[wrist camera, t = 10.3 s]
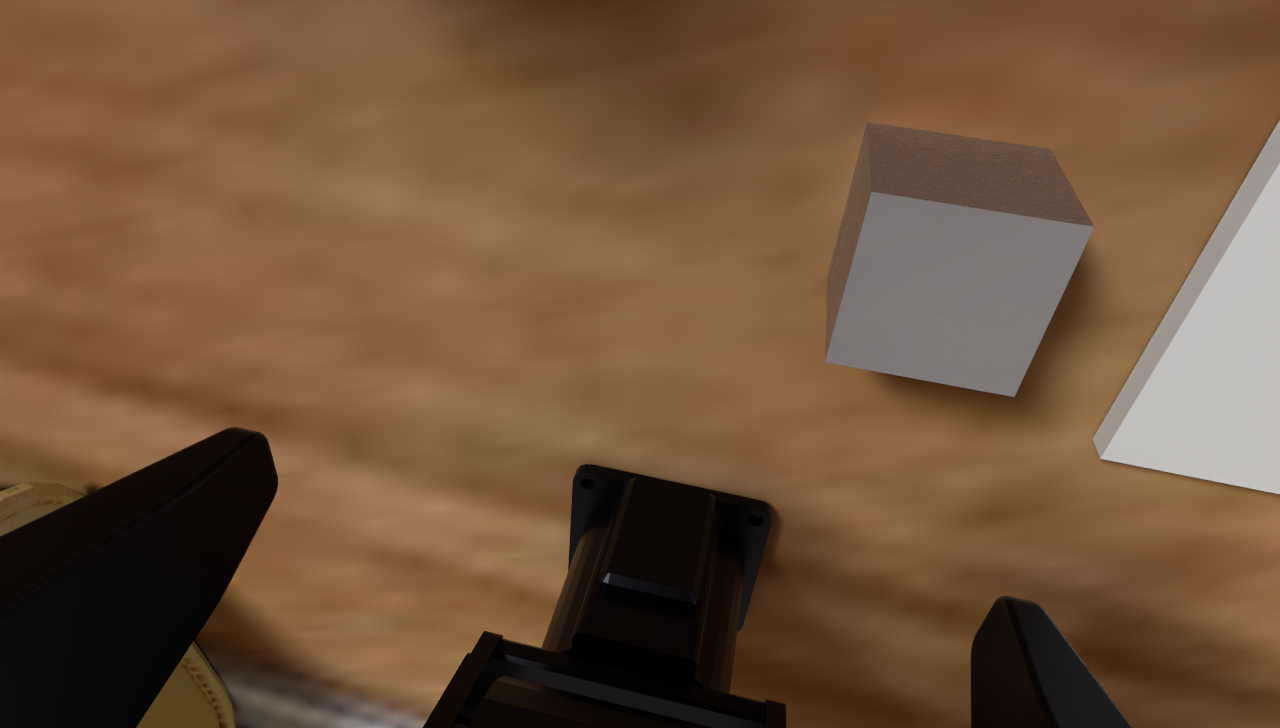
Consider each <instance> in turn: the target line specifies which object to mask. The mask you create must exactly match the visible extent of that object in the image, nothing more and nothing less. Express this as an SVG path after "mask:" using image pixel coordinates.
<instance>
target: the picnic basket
mask: <svg viewBox="0 0 1280 728" xmlns="http://www.w3.org/2000/svg"><path fill="white" fill-rule="evenodd" d="M82 497H84V495H82V494H79V493H77V492H75V491H73V490H70V489H68V488H66V487H64V486H62V485H59V484H51V483H22V484H19V485H17V486H14V487H11V488H9V489H6V490H0V536H2V535H4V534H6V533H8V532H10V531H12V530H14V529H17V528H19V527H21V526H23V525H25V524H27V523H29V522H31V521H33V520H35V519H38V518H40V517H42V516H44V515H46V514H48V513H50V512H52V511H54V510H56V509H59V508H61V507H63V506H65V505H67V504H69V503H71V502H73V501H75V500H78V499H80V498H82ZM136 728H236V726H235V717H234V709H233V705H232V702H231V700H230V698H229V695H228V693H227V691H226V688H225V686H224V685H223V683H222V682H221V680H220V679H219V677H218V676H217V674H216V673H215V671H214V670H213V668H212V667H211V665H210V664H209V663H208V661H207V660H206V658H205V657H204V655H203V654H202V652H201V651H200V649H199V648H198V646H197V645H196V643H195V642H194V641H193V643H192V644H191V646H190V647H189V649H188V650H187V652H186V653H185V655H184V656H183V658H182V660H181V661H180V663H179V664H178V666H177V667H176V669H175V670H174V672H173V673H172V675H171V676H170V678H169V679H168V681H167V682H166V684H165V685H164V687H163V688H162V690H161V691H160V693H159V694H158V696H157V697H156V699H155V700H154V702H153V703H152V705H151V706H150V708H149V709H148V711H147V712H146V714H145V715H144V717H143V718H142V720H141V721H140V723H139V724H138V726H137V727H136Z"/></svg>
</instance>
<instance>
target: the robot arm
mask: <svg viewBox="0 0 1280 728" xmlns="http://www.w3.org/2000/svg"><path fill="white" fill-rule="evenodd" d="M586 478H588V479H591V480H593V481H589V480H587V479H586ZM277 487H278V476H277V472H276V468H275V465H274V461H273V457H272V453H271V450H270V446H269V442H268V440H267V438H266V437H265V436H264V434H262V433H260V432H257V431H252V430H248V429H243V428H238V427H232V428H228V429H225V430H223V431H221V432H218V433H216V434H214V435H212V436H210V437H208V438H206V439H204V440H202V441H200V442H197V443H195V444H193V445H191V446H189V447H187V448H185V449H183V450H181V451H178V452H176V453H174V454H172V455H170V456H168V457H166V458H164V459H162V460H160V461H157V462H155V463H153V464H151V465H149V466H147V467H145V468H143V469H141V470H139V471H136V472H134V473H132V474H130V475H128V476H126V477H124V478H122V479H120V480H117V481H115V482H113V483H111V484H109V485H107V486H105V487H103V488H101V489H99V490H96V491H94V492H92V493H90V494H88V495H86V496H84V497H82V498H80V499H78V500H75V501H73V502H71V503H69V504H67V505H65V506H63V507H61V508H59V509H56V510H54V511H52V512H50V513H48V514H46V515H44V516H42V517H40V518H38V519H35V520H33V521H31V522H29V523H27V524H25V525H23V526H21V527H19V528H17V529H14V530H12V531H10V532H8V533H6V534H4V535H2V536H0V728H136V727H137V726H138V724H139V723H140V721H141V720H142V718H143V717H144V715H145V714H146V712H147V711H148V709H149V708H150V706H151V705H152V703H153V702H154V700H155V699H156V697H157V696H158V694H159V693H160V691H161V690H162V688H163V687H164V685H165V684H166V682H167V681H168V679H169V678H170V676H171V675H172V673H173V672H174V670H175V669H176V667H177V666H178V664H179V663H180V661H181V660H182V658H183V656H184V655H185V653H186V652H187V650H188V649H189V647H190V646H191V644H192V643H193V641H194V640H195V638H196V637H197V635H198V634H199V632H200V631H201V629H202V628H203V626H204V625H205V623H206V622H207V620H208V619H209V617H210V616H211V614H212V612H213V611H214V609H215V608H216V606H217V604H218V603H219V601H220V600H221V598H222V596H223V594H224V592H225V591H226V589H227V587H228V585H229V584H230V582H231V580H232V578H233V576H234V574H235V572H236V570H237V568H238V566H239V564H240V562H241V561H242V559H243V557H244V555H245V553H246V551H247V549H248V547H249V545H250V543H251V541H252V539H253V538H254V536H255V534H256V532H257V530H258V528H259V526H260V524H261V522H262V520H263V518H264V516H265V515H266V513H267V511H268V509H269V507H270V505H271V503H272V501H273V499H274V497H275V495H276V491H277ZM752 515H758V516H761V517H754V516H752ZM771 521H772V509H771V508H770V506H769V505H768V504H766V503H765V502H762V501H759V500H754V499H750V498H745V497H740V496H736V495H731V494H726V493H722V492H717V491H712V490H708V489H703V488H698V487H694V486H689V485H684V484H680V483H675V482H670V481H665V480H661V479H656V478H651V477H647V476H642V475H637V474H633V473H628V472H623V471H619V470H614V469H609V468H605V467H600V466H595V465H588V464H585V465H582V466H580V467H579V468H578V469H577V471H576V474H575V477H574V479H573V490H572V509H571V528H570V547H569V566H568V574H567V577H566V580H565V583H564V586H563V588H562V591H561V594H560V597H559V600H558V603H557V605H556V608H555V611H554V614H553V617H552V620H551V622H550V625H549V628H548V631H547V634H546V637H545V639H544V642H543V645H542V648H539V647H535V646H531V645H527V644H522V643H518V642H514V641H510V640H506V639H503V635H499V634H495V633H491V632H487V631H484V632H483V634H482V635H481V637H480V639H479V640H478V642H477V644H476V646H475V647H474V649H473V651H472V652H471V653H467V655H466V656H465V658H464V660H463V661H462V663H461V665H460V666H459V668H458V670H457V671H456V673H455V675H454V676H453V678H452V680H451V681H450V683H449V685H448V686H447V688H446V690H445V691H444V693H443V695H442V696H441V698H440V700H439V701H438V703H437V705H436V706H435V708H434V710H433V711H432V713H431V715H430V716H429V718H428V720H427V721H426V723H425V725H424V726H423V728H786V705H785V704H784V703H780V702H776V701H771V700H767V699H766V700H765V702H761V701H757V700H753V699H749V698H745V697H741V696H736V695H732V694H729V692H730V684H731V676H732V668H733V660H734V652H735V644H736V637H737V632H738V631H740V630H741V628H742V627H743V623H744V620H745V616H746V612H747V609H748V605H749V602H750V598H751V595H752V591H753V587H754V584H755V580H756V577H757V573H758V569H759V566H760V562H761V559H762V555H763V552H764V548H765V544H766V541H767V537H768V534H769V530H770V526H771ZM971 728H1132V726H1131V725H1130V724H1129V722H1128V721H1127V720H1126V718H1125V717H1124V716H1123V714H1122V713H1121V712H1120V710H1119V709H1118V708H1117V706H1116V705H1115V704H1114V702H1113V701H1112V700H1111V698H1110V697H1109V696H1108V694H1107V693H1106V692H1105V690H1104V689H1103V687H1102V686H1101V685H1100V683H1099V682H1098V681H1097V679H1096V678H1095V677H1094V675H1093V674H1092V673H1091V671H1090V670H1089V669H1088V667H1087V666H1086V665H1085V663H1084V662H1083V661H1082V659H1081V658H1080V657H1079V655H1078V654H1077V653H1076V651H1075V650H1074V649H1073V647H1072V646H1071V645H1070V643H1069V642H1068V641H1067V639H1066V638H1065V637H1064V635H1063V634H1062V633H1061V631H1060V630H1059V628H1058V627H1057V626H1056V624H1055V623H1054V622H1053V620H1052V619H1051V618H1050V616H1049V615H1048V614H1047V612H1046V611H1045V610H1044V609H1043V608H1042V607H1041V606H1040V605H1039V604H1037V603H1035V602H1032V601H1028V600H1023V599H1019V598H1014V597H1010V596H1002V597H1000V598H998V599H997V600H996V601H995V603H994V604H993V606H992V608H991V609H990V611H989V613H988V615H987V616H986V618H985V620H984V621H983V623H982V625H981V627H980V628H979V630H978V632H977V633H976V635H975V637H974V640H973V644H972V649H971Z"/></svg>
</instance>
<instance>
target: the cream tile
mask: <svg viewBox="0 0 1280 728" xmlns="http://www.w3.org/2000/svg"><path fill="white" fill-rule="evenodd" d="M1093 441H1094V444H1095V446H1096V449H1097V452H1098V454H1099V457H1100V459H1104V460H1109V461H1114V462H1119V463H1124V464H1130V465H1135V466H1140V467H1145V468H1150V469H1155V470H1160V471H1165V472H1170V473H1175V474H1180V475H1185V476H1190V477H1195V478H1200V479H1205V480H1210V481H1215V482H1220V483H1225V484H1230V485H1236V486H1241V487H1246V488H1251V489H1256V490H1261V491H1266V492H1271V493H1276V494H1280V120H1279V122H1278V124H1277V125H1276V127H1275V129H1274V131H1273V132H1272V134H1271V136H1270V137H1269V139H1268V141H1267V143H1266V144H1265V146H1264V148H1263V149H1262V151H1261V153H1260V154H1259V156H1258V158H1257V160H1256V161H1255V163H1254V165H1253V166H1252V168H1251V170H1250V172H1249V173H1248V175H1247V177H1246V178H1245V180H1244V182H1243V183H1242V185H1241V187H1240V189H1239V190H1238V192H1237V194H1236V195H1235V197H1234V199H1233V201H1232V202H1231V204H1230V206H1229V207H1228V209H1227V211H1226V212H1225V214H1224V216H1223V218H1222V219H1221V221H1220V223H1219V224H1218V226H1217V228H1216V229H1215V231H1214V233H1213V235H1212V236H1211V238H1210V240H1209V241H1208V243H1207V245H1206V247H1205V248H1204V250H1203V252H1202V253H1201V255H1200V257H1199V258H1198V260H1197V262H1196V264H1195V265H1194V267H1193V269H1192V270H1191V272H1190V274H1189V276H1188V277H1187V279H1186V281H1185V282H1184V284H1183V286H1182V287H1181V289H1180V291H1179V293H1178V294H1177V296H1176V298H1175V299H1174V301H1173V303H1172V305H1171V306H1170V308H1169V310H1168V311H1167V313H1166V315H1165V316H1164V318H1163V320H1162V322H1161V323H1160V325H1159V327H1158V328H1157V330H1156V332H1155V334H1154V335H1153V337H1152V339H1151V340H1150V342H1149V344H1148V345H1147V347H1146V349H1145V351H1144V352H1143V354H1142V356H1141V357H1140V359H1139V361H1138V363H1137V364H1136V366H1135V368H1134V369H1133V371H1132V373H1131V374H1130V376H1129V378H1128V380H1127V381H1126V383H1125V385H1124V386H1123V388H1122V390H1121V392H1120V393H1119V395H1118V397H1117V398H1116V400H1115V402H1114V403H1113V405H1112V407H1111V409H1110V410H1109V412H1108V414H1107V415H1106V417H1105V419H1104V420H1103V422H1102V424H1101V426H1100V427H1099V429H1098V431H1097V432H1096V434H1095V436H1094V438H1093Z"/></svg>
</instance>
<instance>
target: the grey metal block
mask: <svg viewBox="0 0 1280 728" xmlns="http://www.w3.org/2000/svg"><path fill="white" fill-rule="evenodd" d="M1093 229H1094V225H1093V223H1092V222H1091V220H1090V218H1089V216H1088V215H1087V213H1086V211H1085V209H1084V208H1083V206H1082V204H1081V202H1080V200H1079V199H1078V197H1077V195H1076V193H1075V192H1074V190H1073V188H1072V186H1071V185H1070V183H1069V181H1068V179H1067V178H1066V176H1065V174H1064V172H1063V171H1062V169H1061V167H1060V165H1059V164H1058V162H1057V160H1056V158H1055V156H1054V155H1053V153H1052V151H1051V149H1047V148H1041V147H1034V146H1027V145H1020V144H1013V143H1007V142H1000V141H993V140H986V139H979V138H973V137H966V136H959V135H952V134H945V133H939V132H932V131H925V130H918V129H912V128H905V127H898V126H891V125H884V124H878V123H871V122H867V124H866V128H865V132H864V136H863V140H862V144H861V148H860V152H859V156H858V159H857V163H856V167H855V171H854V175H853V179H852V183H851V187H850V191H849V195H848V199H847V202H846V206H845V210H844V214H843V218H842V222H841V226H840V230H839V234H838V238H837V242H836V245H835V249H834V253H833V257H832V261H831V265H830V269H829V273H828V289H827V316H826V344H825V362H827V363H833V364H838V365H843V366H849V367H854V368H860V369H865V370H871V371H876V372H881V373H887V374H892V375H898V376H903V377H908V378H914V379H919V380H925V381H930V382H935V383H941V384H946V385H952V386H957V387H963V388H968V389H973V390H979V391H984V392H990V393H995V394H1000V395H1006V396H1011V397H1015V395H1016V393H1017V391H1018V388H1019V386H1020V384H1021V382H1022V380H1023V378H1024V376H1025V374H1026V371H1027V369H1028V367H1029V365H1030V363H1031V361H1032V359H1033V357H1034V354H1035V352H1036V350H1037V348H1038V346H1039V344H1040V342H1041V340H1042V337H1043V335H1044V333H1045V331H1046V329H1047V327H1048V325H1049V323H1050V320H1051V318H1052V316H1053V314H1054V312H1055V310H1056V308H1057V306H1058V303H1059V301H1060V299H1061V297H1062V295H1063V293H1064V291H1065V289H1066V286H1067V284H1068V282H1069V280H1070V278H1071V276H1072V274H1073V272H1074V269H1075V267H1076V265H1077V263H1078V261H1079V259H1080V257H1081V255H1082V253H1083V250H1084V248H1085V246H1086V244H1087V242H1088V240H1089V238H1090V236H1091V233H1092V231H1093Z"/></svg>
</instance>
